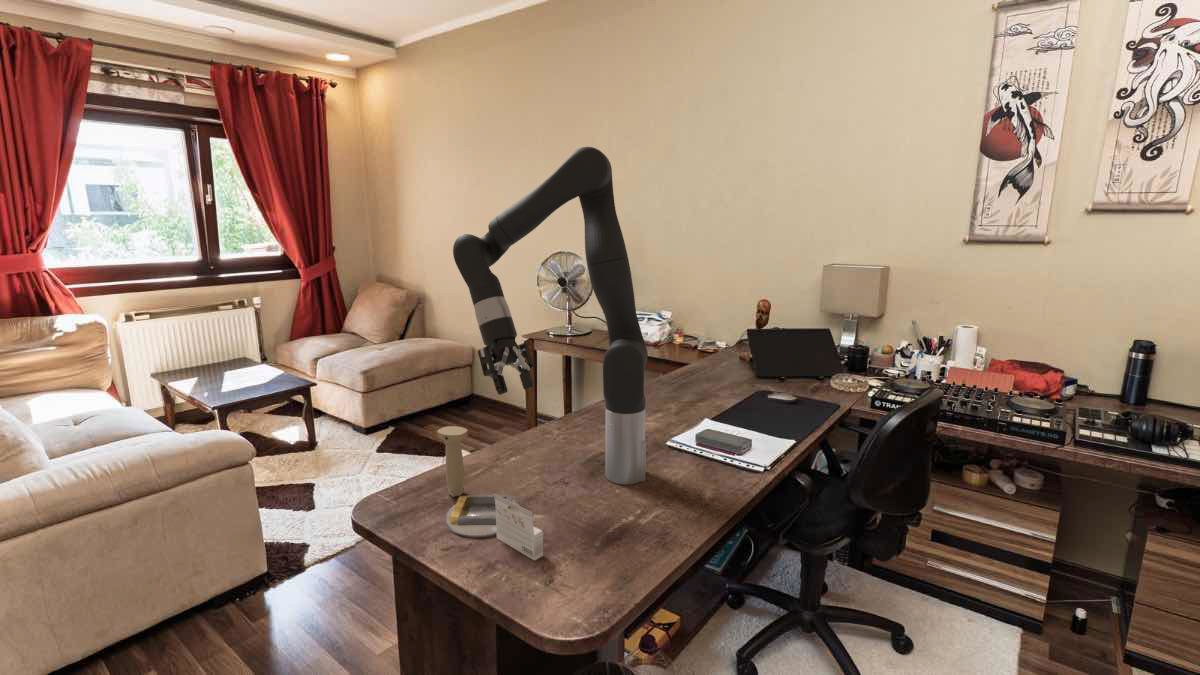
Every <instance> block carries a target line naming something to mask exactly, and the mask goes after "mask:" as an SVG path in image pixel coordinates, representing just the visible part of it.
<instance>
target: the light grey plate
mask: <svg viewBox="0 0 1200 675" xmlns="http://www.w3.org/2000/svg"><path fill="white" fill-rule="evenodd" d="M498 495H499V496H501V497H503V498H505V499H507V500H509V501H511V502H513V503H515V504H517V505H519V506H520V504H519V503H518V502H517V501H515V500H514V499H513V495H508V494H498ZM508 508H509V509H510V510H512V511H514V512H516V513H518V514H519V512H518V511H517V510H516V509H515V508H514V507H513V506H508ZM496 515H497V514H496V505H495V497H494V494H467V495H461V496H458V498H457V501H456V503H455V504H454V505H453V506H452V507H450V509H449V510H448V511H447V513H446V518H445V520H446V526H447V528H448V529H449V531H451V532H452V533H453V534H456V535H458V536H461V537H466V538H488V537H493V536H497V532H496Z"/></svg>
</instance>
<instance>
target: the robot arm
mask: <svg viewBox="0 0 1200 675" xmlns="http://www.w3.org/2000/svg"><path fill="white" fill-rule="evenodd" d="M577 197H578V199H579V202H580V206H581V209H582V210H581V211H582V215H583V221H584V222H583V223H584V249H585V250H584V252H585V261H586V266H587V270H588V274H589V275H588V276H589V280H590V284H591V287H592V290H593V293H594V295H595V298H596V299H597V302H598V304H599V306H600V308H601V310H602V312H603V315H604V317H605V321H606V326H607V327H606V328H607V335H608V342H609V343H608V345H609V347H608V348H607V349H606V351H605V353H604V355H603V360H602V387H603V388H602V389H603V391H602V392H603V398H604V401H605V404H604V405H605V406H604V407H605V415H604V416H605V417H604V418H605V427H604V429H605V431H604V432H605V434H604V435H605V441H604V443H605V444H604V445H605V448H604V449H605V452H604V453H605V456H604V458H605V461H604V462H605V463H604V466H605V467H604V470H605V472H604V474H605V478H606V480H608V481H609V482H611V483H613V484H618V485H624V486H625V485H627V486H628V485H634V484H638V483H640V482H646V466H647V465H646V460H647V458H646V456H647V455H646V454H647V452H646V450H647V446H646V445H647V444H646V401H647V400H646V396H645V391H644V390H645V368H646V365H647V364H648V363H647V362H648V361H649V360H648V357H649V354H648V348H647V345H646V342H645V339H644V335H643V333H642V328H641V326H640V322H639V319H638V314H637V309H636V301H635V292H634V285H633V278H632V270H631V265H630V261H629V256H628V255H629V254H628V251H627V247H626V243H625V240H624V235H623V231H622V228H621V224H620V221H619V218H618V214H617V209H616V203H615V196H614V183H613V168H612V165H611V162H610V160H609V158H608V156H606V155H605V153H604V152H602V151H601V150H600V149H598V148H596V147H593V146H582V147H580V148H577V149H576V150H575V151H573V153H572V154H571V155H569V157H568V158H567V159H566V160H565V161H564V162H563V163H561V165H560V166H559V167H558V168H557V169H556V170H555V171H553V173H552V174H551V175H550V176H549V177H547V178H546V179H545V180H544V181H543V182H541V183H540V184H539V185H538V186H537V187H535V188H534V189H533V190H531V191H529V193H528V194H525V196H523V197H522V198H520V199H518V201H516V202H515V203H513V204H512V205H510V206H509V207H507V208H506V209H504V210H503V211H502V212H501V213H499V214H498V215H496V216H494V218H492V220H490V222H489V223H488V227H487V229H488V231H487V232H486V233H485V234H484V235H483V236H482V237H479V236H478V235H477V236H476V235H473V234H471V233H470V234H469V233H464V234H462V235H460V236H458V237H457V238H456V239H455V241H454V244H453V247H452V255H453V259H454V263H455V264H456V267H457V269H458V271H459V273H460V275H461V277H462V280H463V281H464V283H465V284H466V286H467V288H468V290H469V294H470V297H471V301H472V305H473V308H474V315H475V319H476V321H477V324H478V328H479V332H480V336H481V338H482V342H483V345H484V347H482V348H479V349H477V355H478V358H479V363H480V367H481V369H482V370H481V371H482V374H483V376H484V377H490V379H492V380H493V385H494V387H495V391H496V393H497V395H500V396H501V395H504V394H506V393H508V387H507V383H506V380H505V377H504V374H503V371H504V367H505V366H511V368H513V369H515V370H516V371H517V372H518V373H519V378H520V381H521V385H522V388H523V390H529V389H532V388H533V381H532V377H531V374H530V373H531V372H530V371H531V369H532V368H534V367H535V364H534V361H533V357H532V355H531V352H530V349H529V347H528V344H527V342H522V343H519V344H518V343H517V341H516V338H517V336H518V333H517V332H518V331H517V330H516V327H515V323H514V319H513V317H512V313H511V310H510V307H509V304H508V302H507V300H506V297H505V295H504V292H503V288H502V285H501V281H500V279H499V277H498V276H497V275H495V274H494V273H493V272H492V270H491V269H490V267H492V266H494V265H495V264H496V263H497V262H498V261H499V260H500V259H501V258H502V257H503V256H504V255H505V253H506V252H507V251H508V250H509V248H510V247H512V246H513V245H514V244H516V243H518V242H519V241H520V240H522V239H523V238H525V237H526V236H528V234H530V233H531V232H532V231H534V230H536V228H537V227H538V226H540V225H541V224H542V223H543V222H544V221H545V220H546V219H548V217H550V216H551V215H552V214H553V213H554V212H555V211H557V210H558V209H559V208H560V207H562V206H563V205H565V204H566V203H568V202H570V201H572V200H573V199H576V198H577ZM526 360H527V361H526ZM502 374H503V375H502Z"/></svg>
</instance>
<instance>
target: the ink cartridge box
mask: <svg viewBox="0 0 1200 675" xmlns="http://www.w3.org/2000/svg"><path fill="white" fill-rule="evenodd" d="M493 495H494V497H495V505H496V514H497V515H496V532H497V535H496V539H497V540H499V541H500V542H502V543H504V544H505V545H508V547H511V548H512V549H514V550H516V551H517V552H519V553H521V554H522V555H524V556H526V557H527V558H529V559H531V560H532V561H537V560H538V559H540V558H542V557H543V556H544V547H543V546H544V543H543V542H544V536H543V535H544V531H543V530H542V529H539V528H538V527H536V526H535V525H534V514H533V512H532V511H531V510H528V509H526V508H525V507H522V506H521V505H520V504H519V505H517V504H515V503H513V502H511V501H509V500H507V499H505V498H503V497H501V496H499V495H500V494H496V493H493ZM508 506H513V507H514V508H515V509H516V510H517V511H518V512H519V514H518V513H516V512H514V511H512V510H510V509H509V508H508Z"/></svg>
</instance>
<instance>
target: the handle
mask: <svg viewBox="0 0 1200 675" xmlns="http://www.w3.org/2000/svg"><path fill="white" fill-rule="evenodd" d="M467 437H468V428H465V427H462V426H456V425H453V426H452V425H451V426H449V425H448V426H442V427H441V428H439V429H438V430H437V438H439V439H440V440H442V441H444V443H445V478H446V479H445V480H446V484H447V491H448V495H450V497H454V498H455V497H459V496H462V494H464V492H465V487H464V486H465V463H464V458H463V449H462V441H463V440H465V439H466V438H467Z"/></svg>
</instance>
